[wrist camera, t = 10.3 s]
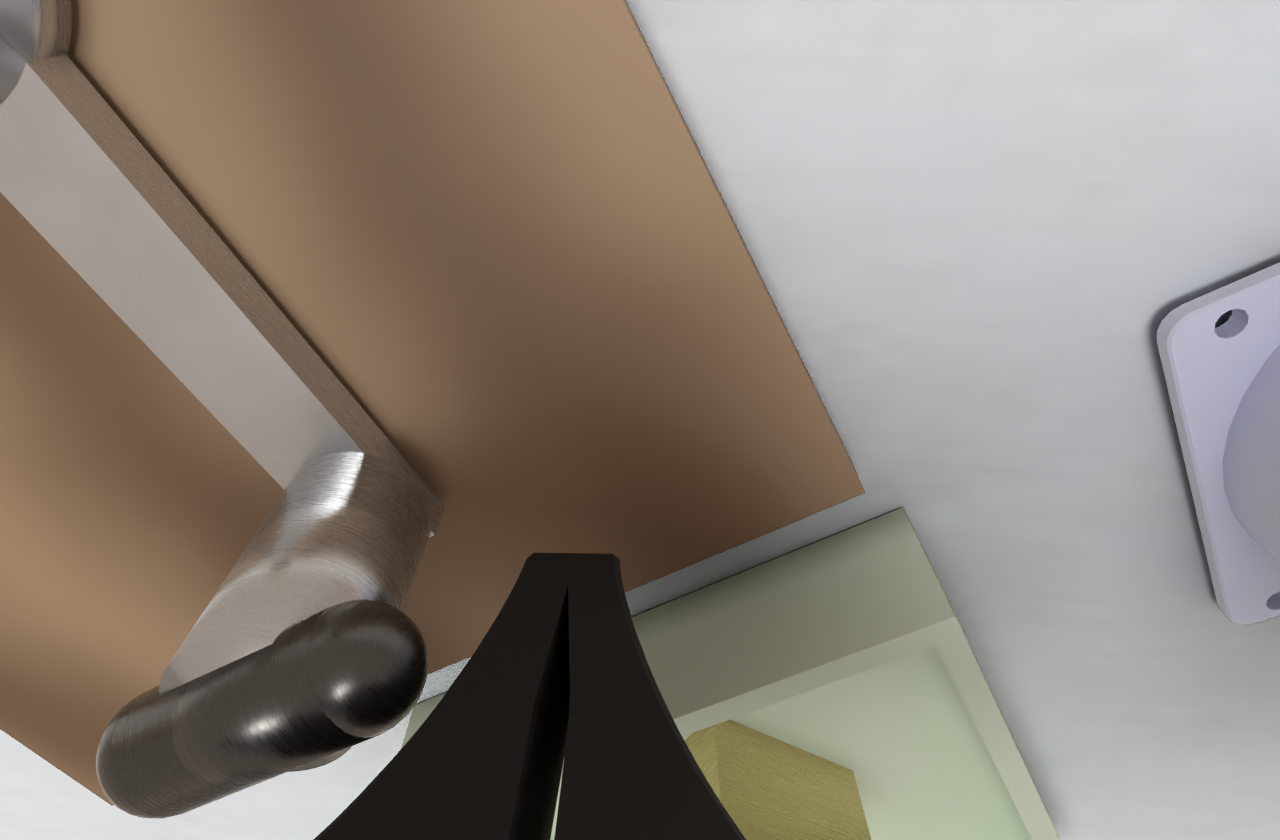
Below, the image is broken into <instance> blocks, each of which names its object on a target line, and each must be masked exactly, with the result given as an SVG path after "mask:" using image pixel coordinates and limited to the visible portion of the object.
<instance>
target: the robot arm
mask: <svg viewBox="0 0 1280 840" xmlns="http://www.w3.org/2000/svg"><path fill="white" fill-rule="evenodd" d="M1229 310H1232V315H1231V316H1230V318H1229V319H1228V320H1227V322H1225V323H1224V324H1222V325H1221V326H1219V327H1216V328H1215V323H1216V322H1217V320H1218V319H1219V318H1220V316H1221V315H1223V314H1224V313H1226V312H1227V311H1229ZM1157 345H1158V349H1159V354H1160V358H1161V362H1162V367H1163V371H1164V375H1165V380H1166V384H1167V388H1168V393H1169V397H1170V401H1171V405H1172V410H1173V414H1174V418H1175V423H1176V427H1177V431H1178V436H1179V440H1180V444H1181V449H1182V453H1183V457H1184V462H1185V466H1186V470H1187V475H1188V479H1189V483H1190V488H1191V492H1192V496H1193V501H1194V505H1195V509H1196V513H1197V518H1198V522H1199V526H1200V531H1201V535H1202V539H1203V544H1204V548H1205V552H1206V557H1207V561H1208V565H1209V570H1210V574H1211V578H1212V583H1213V587H1214V591H1215V596H1216V600H1217V604H1218V607H1219V608H1220V610H1221V611H1222V612H1223V614H1224V615H1225V616H1226V617H1227V618H1228V619H1229V620H1230V621H1231V622H1233V623H1235V624H1241V625H1250V624H1254V623H1258V622H1261V621H1264V620H1267V619H1270V618H1273V617H1276V616H1280V262H1279V263H1277V264H1274V265H1272V266H1270V267H1267V268H1265V269H1263V270H1261V271H1258V272H1256V273H1254V274H1251V275H1249V276H1247V277H1244V278H1242V279H1240V280H1237V281H1235V282H1233V283H1230V284H1228V285H1226V286H1223V287H1221V288H1219V289H1217V290H1214V291H1212V292H1210V293H1207V294H1205V295H1203V296H1200V297H1198V298H1196V299H1193V300H1191V301H1189V302H1186V303H1184V304H1182V305H1180V306H1179V307H1177V308H1175V309H1174V310H1172V311H1170V313H1169V314H1168V315H1167V316H1166V317H1165V318H1164V319H1163V320H1162V321H1161V324H1160V326H1159V328H1158V330H1157ZM564 755H565V756H564ZM563 761H564V764H563ZM562 767H563V773H562ZM561 773H562V781H561V789H560V798H559V806H558V814H557V822H556V830H555V837H554V840H746V839H745V837H744V836H743V834H742V833H741V831H740V830H739V828H738V827H737V825H736V824H735V822H734V821H733V819H732V818H731V817H730V815H729V814H728V812H727V811H726V809H725V808H724V806H723V805H722V803H721V802H720V800H719V799H718V797H717V796H716V794H715V793H714V791H713V789H712V788H711V786H710V784H709V783H708V781H707V779H706V778H705V776H704V774H703V773H702V771H701V769H700V768H699V766H698V764H697V762H696V761H695V759H694V757H693V755H692V753H691V752H690V750H689V748H688V746H687V744H686V743H685V741H684V739H683V737H682V735H681V733H680V732H679V730H678V728H677V726H676V724H675V722H674V720H673V718H672V716H671V714H670V712H669V710H668V708H667V705H666V703H665V701H664V699H663V697H662V695H661V692H660V690H659V688H658V686H657V684H656V682H655V679H654V677H653V674H652V672H651V670H650V667H649V665H648V662H647V660H646V657H645V654H644V652H643V649H642V646H641V644H640V641H639V639H638V636H637V633H636V630H635V627H634V624H633V621H632V618H631V615H630V611H629V608H628V604H627V601H626V597H625V593H624V588H623V583H622V577H621V570H620V559H618V558H617V557H616V556H615V555H614V554H595V553H533V554H531V555H530V556H529V557H528V558H527V559H526V561H525V564H524V566H523V568H522V571H521V573H520V575H519V577H518V579H517V581H516V583H515V585H514V587H513V589H512V591H511V593H510V595H509V596H508V598H507V600H506V602H505V604H504V605H503V607H502V609H501V611H500V612H499V614H498V616H497V618H496V619H495V621H494V622H493V624H492V626H491V627H490V629H489V630H488V632H487V634H486V635H485V637H484V638H483V640H482V642H481V643H480V645H479V646H478V648H477V650H476V651H475V653H474V654H473V656H472V657H471V659H470V660H469V662H468V663H467V665H466V666H465V667H464V669H463V670H462V671H461V673H460V674H459V676H458V677H457V678H456V680H455V681H454V683H453V684H452V685H451V687H450V688H449V690H448V691H447V692H446V694H445V695H444V697H443V698H442V699H441V701H440V702H439V703H438V705H437V706H436V707H435V709H434V710H433V711H432V712H431V714H430V715H429V716H428V718H427V719H426V720H425V721H424V723H423V724H422V725H421V726H420V727H419V729H418V730H417V731H416V732H415V734H414V735H413V736H412V737H411V738H410V739H409V741H408V742H407V743H406V744H405V745H404V747H403V748H402V749H401V750H400V751H399V752H398V754H397V755H396V756H395V757H394V758H393V759H392V760H391V762H390V763H389V764H388V765H387V766H386V767H385V768H384V769H383V770H382V771H381V772H380V773H379V774H378V776H377V777H376V778H375V779H374V780H373V781H372V782H371V783H370V784H369V785H368V786H367V787H366V789H365V790H364V791H363V792H362V793H361V794H360V795H359V796H358V797H357V798H356V799H355V800H354V801H353V802H352V803H351V804H350V805H349V806H348V807H347V808H346V809H345V810H344V811H343V812H342V813H341V814H340V815H339V816H338V817H337V818H336V819H335V820H334V821H333V822H332V823H331V824H330V825H329V826H328V827H327V828H326V829H325V830H323V831H322V832H321V833H320V834H319V835H318V836H317V837H316V838H315V839H314V840H550V839H551V833H552V827H553V821H554V815H555V809H556V803H557V797H558V791H559V785H560V779H561Z"/></svg>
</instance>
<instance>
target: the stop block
mask: <svg viewBox="0 0 1280 840" xmlns="http://www.w3.org/2000/svg"><path fill="white" fill-rule="evenodd" d="M685 743H686V744H687V746H688V748H689V750H690V752H691V753H692V755H693V757H694V759H695V761H696V762H697V764H698V766H699V768H700V769H701V771H702V773H703V774H704V776H705V778H706V779H707V781H708V783H709V784H710V786H711V788H712V789H713V791H714V793H715V794H716V796H717V797H718V799H719V800H720V802H721V803H722V805H723V806H724V808H725V809H726V811H727V812H728V814H729V815H730V817H731V818H732V819H733V821H734V822H735V824H736V825H737V827H738V828H739V830H740V831H741V833H742V834H743V836H744V837H745V839H746V840H871V836H870V832H869V828H868V825H867V821H866V817H865V813H864V810H863V806H862V802H861V798H860V795H859V791H858V787H857V783H856V780H855V776H854V772H853V770H850V769H848V768H845V767H843V766H841V765H838V764H836V763H833V762H831V761H829V760H826V759H824V758H821V757H819V756H817V755H814V754H812V753H809V752H807V751H805V750H802V749H800V748H797V747H795V746H793V745H790V744H788V743H785V742H783V741H780V740H778V739H776V738H773V737H771V736H768V735H766V734H764V733H761V732H759V731H756V730H754V729H752V728H749V727H747V726H744V725H742V724H740V723H737V722H735V721H732V720H727V721H724V722H721V723H719V724H716V725H713V726H710V727H707V728H705V729H702V730H699V731H696V732H693V733H691V734H690V736H689V737H688V738H687V739H686V740H685Z"/></svg>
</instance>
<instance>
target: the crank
mask: <svg viewBox="0 0 1280 840" xmlns="http://www.w3.org/2000/svg"><path fill="white" fill-rule="evenodd" d="M71 31H72V9H71V1H70V0H0V192H1V193H2V194H3V195H4V196H5V198H6V199H7V200H8V201H9V202H10V203H11V204H12V205H13V206H14V207H15V208H16V209H17V210H18V211H19V212H20V213H21V214H22V215H23V216H24V217H25V219H26V220H27V221H28V222H29V223H30V224H31V225H32V226H33V227H34V228H35V229H36V230H37V231H38V232H39V233H40V234H41V235H42V236H43V237H44V238H45V239H46V241H47V242H48V243H49V244H50V245H51V246H52V247H53V248H54V249H55V250H56V251H57V252H58V253H59V254H60V255H61V256H62V257H63V258H64V259H65V260H66V262H67V263H68V264H69V265H70V266H71V267H72V268H73V269H74V270H75V271H76V272H77V273H78V274H79V275H80V276H81V277H82V278H83V279H84V280H85V281H86V282H87V284H88V285H89V286H90V287H91V288H92V289H93V290H94V291H95V292H96V293H97V294H98V295H99V296H100V297H101V298H102V299H103V300H104V301H105V302H106V303H107V304H108V306H109V307H110V308H111V309H112V310H113V311H114V312H115V313H116V314H117V315H118V316H119V317H120V318H121V319H122V320H123V321H124V322H125V323H126V324H127V325H128V327H129V328H130V329H131V330H132V331H133V332H134V333H135V334H136V335H137V336H138V337H139V338H140V339H141V340H142V341H143V342H144V343H145V344H146V345H147V346H148V347H149V349H150V350H151V351H152V352H153V353H154V354H155V355H156V356H157V357H158V358H159V359H160V360H161V361H162V362H163V363H164V364H165V365H166V366H167V367H168V368H169V370H170V371H171V372H172V373H173V374H174V375H175V376H176V377H177V378H178V379H179V380H180V381H181V382H182V383H183V384H184V385H185V386H186V387H187V388H188V389H189V390H190V392H191V393H192V394H193V395H194V396H195V397H196V398H197V399H198V400H199V401H200V402H201V403H202V404H203V405H204V406H205V407H206V408H207V409H208V410H209V411H210V413H211V414H212V415H213V416H214V417H215V418H216V419H217V420H218V421H219V422H220V423H221V424H222V425H223V426H224V427H225V428H226V429H227V430H228V431H229V432H230V433H231V435H232V436H233V437H234V438H235V439H236V440H237V441H238V442H239V443H240V444H241V445H242V446H243V447H244V448H245V449H246V450H247V451H248V452H249V453H250V454H251V456H252V457H253V458H254V459H255V460H256V461H257V462H258V463H259V464H260V465H261V466H262V467H263V468H264V469H265V470H266V471H267V472H268V473H269V474H270V475H271V476H272V478H273V479H274V480H275V481H276V482H277V483H278V484H279V485H280V486H281V487H282V488H283V489H284V491H283V492H282V494H281V495H280V497H279V498H278V500H277V501H276V503H275V504H274V506H273V507H272V509H271V510H270V512H269V513H268V515H267V516H266V518H265V519H264V521H263V523H262V524H261V526H260V527H259V529H258V530H257V532H256V533H255V535H254V536H253V538H252V539H251V541H250V542H249V544H248V545H247V547H246V548H245V550H244V551H243V553H242V554H241V556H240V557H239V559H238V560H237V562H236V563H235V565H234V566H233V568H232V569H231V571H230V572H229V574H228V575H227V577H226V578H225V580H224V581H223V583H222V584H221V586H220V587H219V589H218V590H217V592H216V593H215V595H214V596H213V598H212V599H211V601H210V603H209V604H208V606H207V607H206V609H205V610H204V612H203V613H202V615H201V616H200V618H199V619H198V621H197V622H196V624H195V625H194V627H193V628H192V630H191V631H190V633H189V634H188V636H187V637H186V639H185V640H184V642H183V643H182V645H181V646H180V648H179V649H178V651H177V652H176V654H175V655H174V657H173V658H172V660H171V661H170V663H169V664H168V666H167V667H166V669H165V671H164V673H163V675H162V678H161V681H160V685H158V686H156V687H154V688H152V689H150V690H147V691H146V692H144V693H142V694H140V695H139V696H137V697H135V698H134V699H132V700H131V701H130V702H129V703H127V704H126V705H125V706H124V707H123V708H122V709H121V710H120V711H119V712H118V713H117V714H116V715H115V716H114V718H113V719H112V720H111V721H110V722H109V724H108V726H107V728H106V729H105V731H104V733H103V735H102V738H101V740H100V743H99V746H98V749H97V755H96V773H97V777H98V781H99V784H100V786H101V788H102V791H103V792H104V794H105V795H106V797H107V798H108V799H109V801H111V802H112V803H113V804H114V805H115V806H116V807H118V808H119V809H121V810H123V811H125V812H127V813H129V814H131V815H134V816H138V817H142V818H166V817H171V816H175V815H179V814H183V813H185V812H188V811H190V810H193V809H195V808H198V807H200V806H203V805H205V804H208V803H210V802H213V801H215V800H218V799H220V798H223V797H225V796H228V795H230V794H233V793H235V792H238V791H240V790H243V789H245V788H248V787H250V786H253V785H255V784H258V783H260V782H263V781H265V780H268V779H270V778H273V777H275V776H278V775H280V774H283V773H285V772H292V771H302V770H308V769H312V768H317V767H320V766H323V765H326V764H328V763H330V762H332V761H334V760H336V759H338V758H339V757H341V756H342V755H343V754H345V753H346V752H347V751H348V750H349V749H350V748H351V746H353V745H355V744H358V743H360V742H363V741H365V740H368V739H370V738H373V737H375V736H378V735H380V734H382V733H384V732H385V731H387V730H389V729H391V728H393V727H394V726H395V725H396V724H397V723H399V722H400V721H401V720H402V719H403V718H404V717H405V716H406V715H408V714H409V712H410V711H411V709H412V708H413V707H414V705H415V704H416V702H417V701H418V699H419V697H420V695H421V692H422V690H423V687H424V685H425V682H426V678H427V669H428V654H427V648H426V644H425V641H424V638H423V636H422V634H421V632H420V630H419V629H418V627H417V626H416V625H415V623H414V622H413V621H412V620H411V619H410V618H409V617H408V616H407V615H406V614H405V613H404V612H403V609H404V606H405V603H406V600H407V598H408V595H409V592H410V589H411V586H412V584H413V581H414V578H415V575H416V572H417V570H418V567H419V564H420V561H421V559H422V556H423V553H424V550H425V547H426V545H427V542H428V539H429V538H430V537H432V536H434V535H435V534H436V531H437V528H438V525H439V522H440V519H441V517H442V514H443V511H444V508H445V506H444V505H443V504H442V503H441V502H440V500H439V499H438V498H437V497H436V496H435V494H434V493H433V492H432V491H431V490H430V488H429V487H428V486H427V485H426V484H425V482H424V481H423V480H422V479H421V478H420V476H419V475H418V474H417V473H416V472H415V470H414V469H413V468H412V467H411V466H410V464H409V463H408V462H407V461H406V460H405V459H404V457H403V456H402V455H401V454H400V453H399V451H398V450H397V449H396V448H395V447H394V445H393V444H392V443H391V442H390V441H389V439H388V438H387V437H386V436H385V435H384V433H383V432H382V431H381V430H380V429H379V427H378V426H377V425H376V424H375V423H374V421H373V420H372V419H371V418H370V417H369V416H368V414H367V413H366V412H365V411H364V410H363V408H362V407H361V406H360V405H359V404H358V402H357V401H356V400H355V399H354V398H353V396H352V395H351V394H350V393H349V392H348V390H347V389H346V388H345V387H344V386H343V384H342V383H341V382H340V381H339V380H338V378H337V377H336V376H335V375H334V374H333V372H332V371H331V370H330V369H329V368H328V367H327V365H326V364H325V363H324V362H323V361H322V359H321V358H320V357H319V356H318V355H317V353H316V352H315V351H314V350H313V349H312V347H311V346H310V345H309V344H308V343H307V341H306V340H305V339H304V338H303V337H302V335H301V334H300V333H299V332H298V331H297V329H296V328H295V327H294V326H293V325H292V324H291V322H290V321H289V320H288V319H287V318H286V316H285V315H284V314H283V313H282V312H281V310H280V309H279V308H278V307H277V306H276V304H275V303H274V302H273V301H272V300H271V298H270V297H269V296H268V295H267V294H266V292H265V291H264V290H263V289H262V288H261V286H260V285H259V284H258V283H257V282H256V280H255V279H254V278H253V277H252V276H251V275H250V273H249V272H248V271H247V270H246V269H245V267H244V266H243V265H242V264H241V263H240V261H239V260H238V259H237V258H236V257H235V255H234V254H233V253H232V252H231V251H230V249H229V248H228V247H227V246H226V245H225V243H224V242H223V241H222V240H221V239H220V237H219V236H218V235H217V234H216V233H215V232H214V230H213V229H212V228H211V227H210V226H209V224H208V223H207V222H206V221H205V220H204V218H203V217H202V216H201V215H200V214H199V212H198V211H197V210H196V209H195V208H194V206H193V205H192V204H191V203H190V202H189V200H188V199H187V198H186V197H185V196H184V194H183V193H182V192H181V191H180V190H179V188H178V187H177V186H176V185H175V184H174V183H173V181H172V180H171V179H170V178H169V177H168V175H167V174H166V173H165V172H164V171H163V169H162V168H161V167H160V166H159V165H158V163H157V162H156V161H155V160H154V159H153V157H152V156H151V155H150V154H149V153H148V151H147V150H146V149H145V148H144V147H143V145H142V144H141V143H140V142H139V141H138V140H137V138H136V137H135V136H134V135H133V134H132V132H131V131H130V130H129V129H128V128H127V126H126V125H125V124H124V123H123V122H122V120H121V119H120V118H119V117H118V116H117V114H116V113H115V112H114V111H113V110H112V108H111V107H110V106H109V105H108V104H107V102H106V101H105V100H104V99H103V98H102V97H101V95H100V94H99V93H98V92H97V91H96V89H95V88H94V87H93V86H92V85H91V83H90V82H89V81H88V80H87V79H86V77H85V76H84V75H83V74H82V73H81V71H80V70H79V69H78V68H77V67H76V65H75V64H74V63H73V62H72V61H71V59H70V58H69V57H68V56H67V53H68V50H69V45H70V38H71Z"/></svg>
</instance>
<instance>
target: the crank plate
mask: <svg viewBox="0 0 1280 840" xmlns="http://www.w3.org/2000/svg"><path fill="white" fill-rule="evenodd" d="M70 1H71V9H72V31H71V38H70V45H69V50H68V53H67V56H68V57H69V58H70V59H71V61H72V62H73V63H74V64H75V65H76V67H77V68H78V69H79V70H80V71H81V73H82V74H83V75H84V76H85V77H86V79H87V80H88V81H89V82H90V83H91V85H92V86H93V87H94V88H95V89H96V91H97V92H98V93H99V94H100V95H101V97H102V98H103V99H104V100H105V101H106V102H107V104H108V105H109V106H110V107H111V108H112V110H113V111H114V112H115V113H116V114H117V116H118V117H119V118H120V119H121V120H122V122H123V123H124V124H125V125H126V126H127V128H128V129H129V130H130V131H131V132H132V134H133V135H134V136H135V137H136V138H137V140H138V141H139V142H140V143H141V144H142V145H143V147H144V148H145V149H146V150H147V151H148V153H149V154H150V155H151V156H152V157H153V159H154V160H155V161H156V162H157V163H158V165H159V166H160V167H161V168H162V169H163V171H164V172H165V173H166V174H167V175H168V177H169V178H170V179H171V180H172V181H173V183H174V184H175V185H176V186H177V187H178V188H179V190H180V191H181V192H182V193H183V194H184V196H185V197H186V198H187V199H188V200H189V202H190V203H191V204H192V205H193V206H194V208H195V209H196V210H197V211H198V212H199V214H200V215H201V216H202V217H203V218H204V220H205V221H206V222H207V223H208V224H209V226H210V227H211V228H212V229H213V230H214V232H215V233H216V234H217V235H218V236H219V237H220V239H221V240H222V241H223V242H224V243H225V245H226V246H227V247H228V248H229V249H230V251H231V252H232V253H233V254H234V255H235V257H236V258H237V259H238V260H239V261H240V263H241V264H242V265H243V266H244V267H245V269H246V270H247V271H248V272H249V273H250V275H251V276H252V277H253V278H254V279H255V280H256V282H257V283H258V284H259V285H260V286H261V288H262V289H263V290H264V291H265V292H266V294H267V295H268V296H269V297H270V298H271V300H272V301H273V302H274V303H275V304H276V306H277V307H278V308H279V309H280V310H281V312H282V313H283V314H284V315H285V316H286V318H287V319H288V320H289V321H290V322H291V324H292V325H293V326H294V327H295V328H296V329H297V331H298V332H299V333H300V334H301V335H302V337H303V338H304V339H305V340H306V341H307V343H308V344H309V345H310V346H311V347H312V349H313V350H314V351H315V352H316V353H317V355H318V356H319V357H320V358H321V359H322V361H323V362H324V363H325V364H326V365H327V367H328V368H329V369H330V370H331V371H332V372H333V374H334V375H335V376H336V377H337V378H338V380H339V381H340V382H341V383H342V384H343V386H344V387H345V388H346V389H347V390H348V392H349V393H350V394H351V395H352V396H353V398H354V399H355V400H356V401H357V402H358V404H359V405H360V406H361V407H362V408H363V410H364V411H365V412H366V413H367V414H368V416H369V417H370V418H371V419H372V420H373V421H374V423H375V424H376V425H377V426H378V427H379V429H380V430H381V431H382V432H383V433H384V435H385V436H386V437H387V438H388V439H389V441H390V442H391V443H392V444H393V445H394V447H395V448H396V449H397V450H398V451H399V453H400V454H401V455H402V456H403V457H404V459H405V460H406V461H407V462H408V463H409V464H410V466H411V467H412V468H413V469H414V470H415V472H416V473H417V474H418V475H419V476H420V478H421V479H422V480H423V481H424V482H425V484H426V485H427V486H428V487H429V488H430V490H431V491H432V492H433V493H434V494H435V496H436V497H437V498H438V499H439V500H440V502H441V503H442V504H443V505H444V506H445V508H444V511H443V514H442V517H441V519H440V522H439V525H438V528H437V531H436V534H435V535H434V536H432V537H430V538H429V539H428V542H427V545H426V547H425V550H424V553H423V556H422V559H421V561H420V564H419V567H418V570H417V572H416V575H415V578H414V581H413V584H412V586H411V589H410V592H409V595H408V598H407V600H406V603H405V606H404V609H403V612H404V613H405V614H406V615H407V616H408V617H409V618H410V619H411V620H412V621H413V622H414V623H415V625H416V626H417V627H418V629H419V630H420V632H421V634H422V636H423V638H424V641H425V644H426V648H427V654H428V669H427V674H430V673H432V672H435V671H437V670H439V669H442V668H444V667H447V666H449V665H451V664H454V663H456V662H459V661H461V660H463V659H466V658H468V657H471V656H473V654H474V653H475V651H476V650H477V648H478V646H479V645H480V643H481V642H482V640H483V638H484V637H485V635H486V634H487V632H488V630H489V629H490V627H491V626H492V624H493V622H494V621H495V619H496V618H497V616H498V614H499V612H500V611H501V609H502V607H503V605H504V604H505V602H506V600H507V598H508V596H509V595H510V593H511V591H512V589H513V587H514V585H515V583H516V581H517V579H518V577H519V575H520V573H521V571H522V568H523V566H524V564H525V561H526V559H527V558H528V557H529V556H530V555H531V554H533V553H595V554H614V555H615V556H616V557H617V558H618V559H620V570H621V577H622V583H623V588H624V593H625V592H627V591H630V590H632V589H634V588H637V587H639V586H642V585H644V584H646V583H649V582H651V581H654V580H656V579H658V578H661V577H663V576H666V575H668V574H670V573H673V572H675V571H678V570H680V569H683V568H685V567H687V566H690V565H692V564H695V563H697V562H699V561H702V560H704V559H707V558H709V557H711V556H714V555H716V554H719V553H721V552H723V551H726V550H728V549H731V548H733V547H735V546H738V545H740V544H743V543H745V542H748V541H750V540H752V539H755V538H757V537H760V536H762V535H764V534H767V533H769V532H772V531H774V530H776V529H779V528H781V527H784V526H786V525H788V524H791V523H793V522H796V521H798V520H800V519H803V518H805V517H808V516H810V515H813V514H815V513H817V512H820V511H822V510H825V509H827V508H829V507H832V506H834V505H837V504H839V503H841V502H844V501H846V500H849V499H851V498H853V497H856V496H858V495H861V494H863V493H865V491H864V489H863V487H862V484H861V482H860V480H859V477H858V475H857V473H856V470H855V468H854V466H853V463H852V461H851V459H850V457H849V455H848V453H847V451H846V449H845V447H844V445H843V443H842V441H841V439H840V437H839V435H838V433H837V431H836V429H835V426H834V424H833V422H832V420H831V418H830V416H829V414H828V412H827V410H826V408H825V406H824V404H823V402H822V400H821V398H820V396H819V394H818V392H817V390H816V388H815V386H814V384H813V382H812V380H811V378H810V376H809V373H808V371H807V369H806V367H805V365H804V363H803V361H802V359H801V357H800V355H799V353H798V351H797V349H796V347H795V345H794V343H793V341H792V339H791V337H790V335H789V333H788V331H787V329H786V327H785V325H784V323H783V320H782V318H781V316H780V314H779V312H778V310H777V308H776V306H775V304H774V302H773V300H772V298H771V296H770V294H769V292H768V290H767V288H766V286H765V284H764V282H763V280H762V278H761V276H760V274H759V272H758V270H757V267H756V265H755V263H754V261H753V259H752V257H751V255H750V253H749V251H748V249H747V247H746V245H745V243H744V241H743V239H742V237H741V235H740V233H739V231H738V229H737V227H736V225H735V223H734V221H733V219H732V217H731V215H730V212H729V210H728V208H727V206H726V204H725V202H724V200H723V198H722V196H721V194H720V192H719V190H718V188H717V186H716V184H715V182H714V180H713V178H712V176H711V174H710V172H709V170H708V168H707V166H706V164H705V162H704V159H703V157H702V155H701V153H700V151H699V149H698V147H697V145H696V143H695V141H694V139H693V137H692V135H691V133H690V131H689V129H688V127H687V125H686V123H685V121H684V119H683V117H682V115H681V113H680V111H679V109H678V106H677V104H676V102H675V100H674V98H673V96H672V94H671V92H670V90H669V88H668V86H667V84H666V82H665V80H664V78H663V76H662V74H661V72H660V70H659V68H658V66H657V64H656V62H655V60H654V58H653V56H652V53H651V51H650V49H649V47H648V45H647V43H646V41H645V39H644V37H643V35H642V33H641V31H640V29H639V27H638V25H637V23H636V21H635V19H634V17H633V15H632V13H631V11H630V9H629V7H628V5H627V3H626V0H70ZM283 491H284V489H283V488H282V487H281V486H280V485H279V484H278V483H277V482H276V481H275V480H274V479H273V478H272V476H271V475H270V474H269V473H268V472H267V471H266V470H265V469H264V468H263V467H262V466H261V465H260V464H259V463H258V462H257V461H256V460H255V459H254V458H253V457H252V456H251V454H250V453H249V452H248V451H247V450H246V449H245V448H244V447H243V446H242V445H241V444H240V443H239V442H238V441H237V440H236V439H235V438H234V437H233V436H232V435H231V433H230V432H229V431H228V430H227V429H226V428H225V427H224V426H223V425H222V424H221V423H220V422H219V421H218V420H217V419H216V418H215V417H214V416H213V415H212V414H211V413H210V411H209V410H208V409H207V408H206V407H205V406H204V405H203V404H202V403H201V402H200V401H199V400H198V399H197V398H196V397H195V396H194V395H193V394H192V393H191V392H190V390H189V389H188V388H187V387H186V386H185V385H184V384H183V383H182V382H181V381H180V380H179V379H178V378H177V377H176V376H175V375H174V374H173V373H172V372H171V371H170V370H169V368H168V367H167V366H166V365H165V364H164V363H163V362H162V361H161V360H160V359H159V358H158V357H157V356H156V355H155V354H154V353H153V352H152V351H151V350H150V349H149V347H148V346H147V345H146V344H145V343H144V342H143V341H142V340H141V339H140V338H139V337H138V336H137V335H136V334H135V333H134V332H133V331H132V330H131V329H130V328H129V327H128V325H127V324H126V323H125V322H124V321H123V320H122V319H121V318H120V317H119V316H118V315H117V314H116V313H115V312H114V311H113V310H112V309H111V308H110V307H109V306H108V304H107V303H106V302H105V301H104V300H103V299H102V298H101V297H100V296H99V295H98V294H97V293H96V292H95V291H94V290H93V289H92V288H91V287H90V286H89V285H88V284H87V282H86V281H85V280H84V279H83V278H82V277H81V276H80V275H79V274H78V273H77V272H76V271H75V270H74V269H73V268H72V267H71V266H70V265H69V264H68V263H67V262H66V260H65V259H64V258H63V257H62V256H61V255H60V254H59V253H58V252H57V251H56V250H55V249H54V248H53V247H52V246H51V245H50V244H49V243H48V242H47V241H46V239H45V238H44V237H43V236H42V235H41V234H40V233H39V232H38V231H37V230H36V229H35V228H34V227H33V226H32V225H31V224H30V223H29V222H28V221H27V220H26V219H25V217H24V216H23V215H22V214H21V213H20V212H19V211H18V210H17V209H16V208H15V207H14V206H13V205H12V204H11V203H10V202H9V201H8V200H7V199H6V198H5V196H4V195H3V194H2V193H1V192H0V729H1V730H2V731H4V732H5V733H7V734H8V735H10V736H11V737H13V738H14V739H16V740H17V741H19V742H20V743H21V744H23V745H24V746H26V747H27V748H29V749H30V750H32V751H33V752H35V753H36V754H37V755H39V756H40V757H42V758H43V759H45V760H46V761H48V762H49V763H51V764H52V765H53V766H55V767H56V768H58V769H59V770H61V771H62V772H64V773H65V774H67V775H68V776H70V777H71V778H72V779H74V780H75V781H77V782H78V783H80V784H81V785H83V786H84V787H86V788H87V789H88V790H90V791H91V792H93V793H94V794H96V795H97V796H99V797H100V798H102V799H103V800H105V801H106V802H107V803H109V804H110V805H114V804H113V803H112V802H111V801H109V799H108V798H107V797H106V795H105V794H104V792H103V791H102V788H101V786H100V784H99V781H98V777H97V773H96V755H97V749H98V746H99V743H100V740H101V738H102V735H103V733H104V731H105V729H106V728H107V726H108V724H109V722H110V721H111V720H112V719H113V718H114V716H115V715H116V714H117V713H118V712H119V711H120V710H121V709H122V708H123V707H124V706H125V705H126V704H127V703H129V702H130V701H131V700H132V699H134V698H135V697H137V696H139V695H140V694H142V693H144V692H146V691H147V690H150V689H152V688H154V687H156V686H158V685H160V681H161V678H162V675H163V673H164V671H165V669H166V667H167V666H168V664H169V663H170V661H171V660H172V658H173V657H174V655H175V654H176V652H177V651H178V649H179V648H180V646H181V645H182V643H183V642H184V640H185V639H186V637H187V636H188V634H189V633H190V631H191V630H192V628H193V627H194V625H195V624H196V622H197V621H198V619H199V618H200V616H201V615H202V613H203V612H204V610H205V609H206V607H207V606H208V604H209V603H210V601H211V599H212V598H213V596H214V595H215V593H216V592H217V590H218V589H219V587H220V586H221V584H222V583H223V581H224V580H225V578H226V577H227V575H228V574H229V572H230V571H231V569H232V568H233V566H234V565H235V563H236V562H237V560H238V559H239V557H240V556H241V554H242V553H243V551H244V550H245V548H246V547H247V545H248V544H249V542H250V541H251V539H252V538H253V536H254V535H255V533H256V532H257V530H258V529H259V527H260V526H261V524H262V523H263V521H264V519H265V518H266V516H267V515H268V513H269V512H270V510H271V509H272V507H273V506H274V504H275V503H276V501H277V500H278V498H279V497H280V495H281V494H282V492H283Z"/></svg>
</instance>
